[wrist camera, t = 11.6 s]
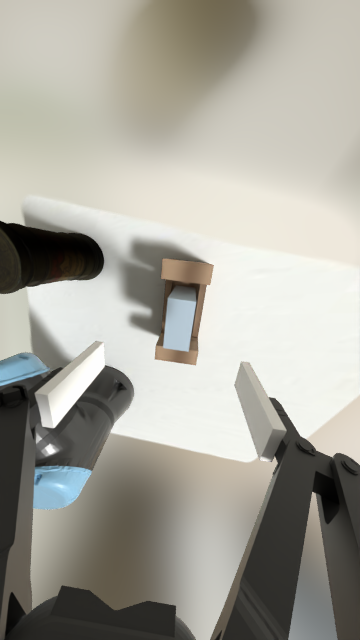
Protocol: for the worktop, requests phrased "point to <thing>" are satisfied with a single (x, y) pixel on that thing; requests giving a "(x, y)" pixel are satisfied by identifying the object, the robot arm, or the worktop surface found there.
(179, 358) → the frame
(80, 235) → the container
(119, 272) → the worktop surface
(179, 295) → the door
